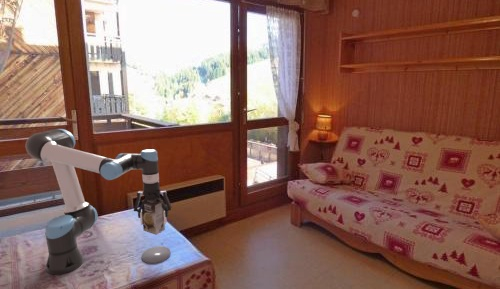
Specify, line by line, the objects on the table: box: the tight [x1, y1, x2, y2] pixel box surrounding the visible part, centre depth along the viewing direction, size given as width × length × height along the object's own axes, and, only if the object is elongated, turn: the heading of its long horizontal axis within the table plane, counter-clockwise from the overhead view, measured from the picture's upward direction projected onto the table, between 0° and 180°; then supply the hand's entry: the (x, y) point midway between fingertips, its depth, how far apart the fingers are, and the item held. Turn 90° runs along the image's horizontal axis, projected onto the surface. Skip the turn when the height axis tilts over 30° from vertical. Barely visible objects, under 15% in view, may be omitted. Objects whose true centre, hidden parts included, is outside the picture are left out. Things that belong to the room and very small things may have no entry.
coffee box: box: [140, 199, 166, 236], centre depth 147 cm, size 9×6×16 cm
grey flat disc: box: [141, 245, 171, 265], centre depth 151 cm, size 14×14×1 cm
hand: (153, 223), depth 148 cm, fingers closed on coffee box, 10 cm apart
